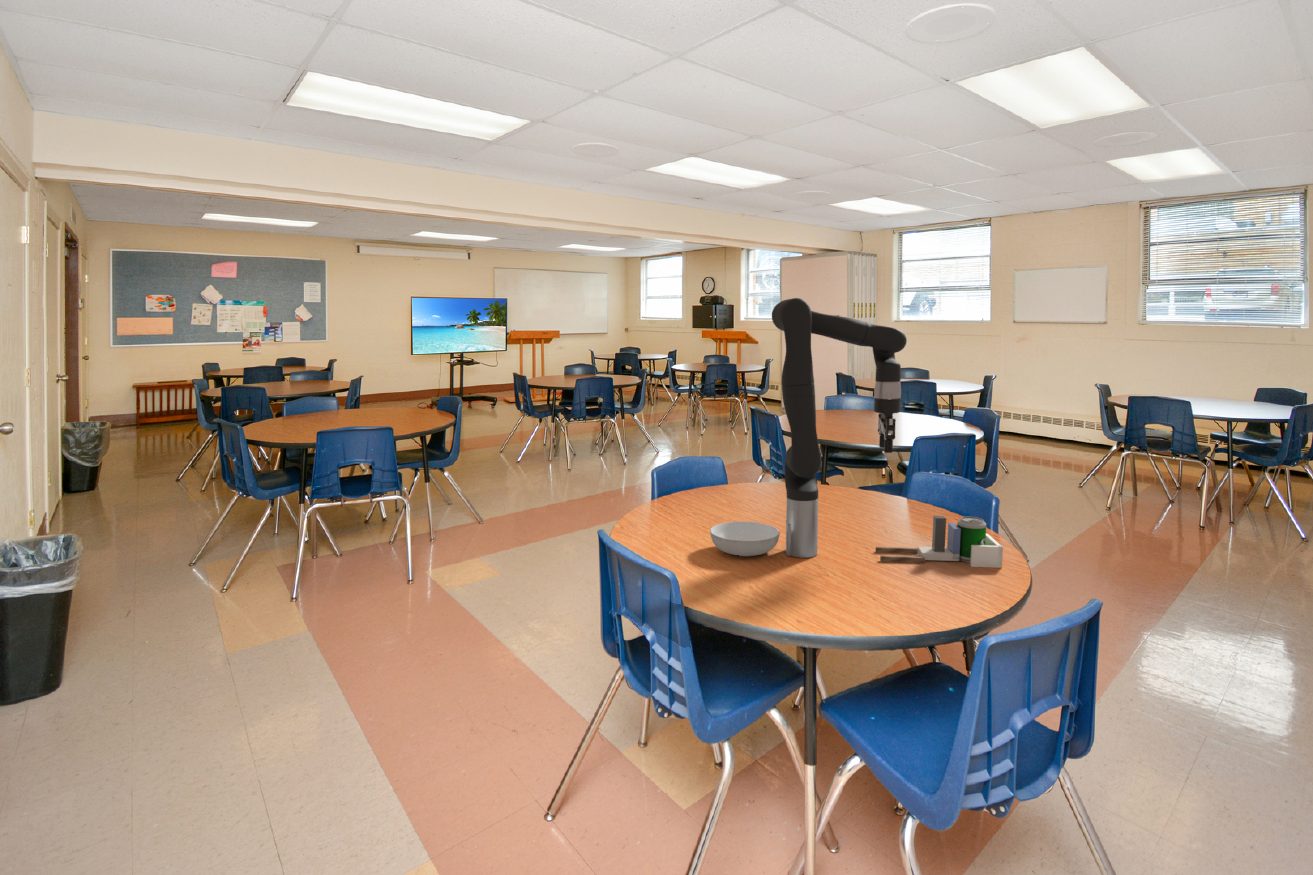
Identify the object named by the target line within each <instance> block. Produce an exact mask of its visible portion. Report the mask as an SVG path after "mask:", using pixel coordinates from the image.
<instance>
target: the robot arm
mask: <svg viewBox="0 0 1313 875" xmlns="http://www.w3.org/2000/svg"><path fill="white" fill-rule="evenodd" d="M771 319H772V323H773V325H774V326H775V327H776V328H777V329H779V330H780V331H782V332H783V333H784V339H785V356H784V361H783V367H782V373H781V392H782V403H783V407H784V410H785V413H786V414H785V415H786V417H787V421H788V425H789V428H790V438H791V439H790V440H791V441H790V442H791V446H789V448H788V449H787V451H786V453H785V457H784V483H785V485H784V486H785V489H786V490H785V491H786V510H785V511H786V515H785V516H786V517H785V518H786V519H785V553H786V556H787V557H788V556H790V557H795V558H802V559H803V558H805V559H806V558H812V557H813V558H814V557H816V556H817V555H818V538H819V536H818V533H819V531H818V530H819V488H818V487H819V486H818V484H817V479H816V475H817V473H818V472H819V471H820V469H821V467H822V456H821V450H820V445H819V440H818V433H817V409H816V408H817V407H816V389H815V388H816V387H815V377H814V364H813V356H812V335H818V336H822V337H825V338H829V339H833V340H836V341H840V342H844V343H846V344H850V345H854V346H860V347H870V348H872V354H873V359H874V363H875V364H874V365H875V383H874V389H873V392H874V393H873V394H874V395H873V399H874V400H873V411H874V413H877V414H878V415H877V417H878V419H877V420H878V421H877V422H878V423H877V424H878V425H877V433H878V435H879V439H878V440H879V441H878V442H879V444H878V446H879V448H880V449H883V452H884V453H886V454H892V453H893V451H894V450H893V444H894V440H895V439H896V421H897V420H896V418H894V416H893V414H899V413H900V412H901V405H902V404H901V402H902V401H901V400H902V399H901V398H902V386H901V380H902V379H901V376H902V375H901V374H902V367H901V364H900V362H899V361H897V359H896V353H899V352H901V351H902V350H904V348H905V347H906V345H907V341H908V340H907V336H906V334H905V333H904V332H903V331H902V330H901V329H898V328H896V327H890V326H885V325H878V324H873V323H870V322H867V321H864V320H860V319H856V318H852V317H846V316H842V315H841V316H840V315H832V314H827V313H822V312H817V311H813V310H811V307H810V304H808V302H807V301H806V300H804V299H802V298H800V297H793V298H788V299H783V300H781V301H780V302H778V303H777V304H776V305H775V306H774V307H773V309H772V312H771Z"/></svg>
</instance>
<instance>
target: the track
mask: <svg viewBox="0 0 1313 875" xmlns="http://www.w3.org/2000/svg"><path fill="white" fill-rule="evenodd" d="M875 553H876V554H906V555H879V556H880V558H879V559H880V562H881V563H882V562H883V563H911V564H914V563H916V564H925V562H926V560H925V558H924V557H920V556H914V555H919V554H918V547H897V546H896V547H893V546H891V547H890V546H888V547H887V546H875ZM907 554H910V555H911V556H907ZM912 555H913V556H912Z"/></svg>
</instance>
